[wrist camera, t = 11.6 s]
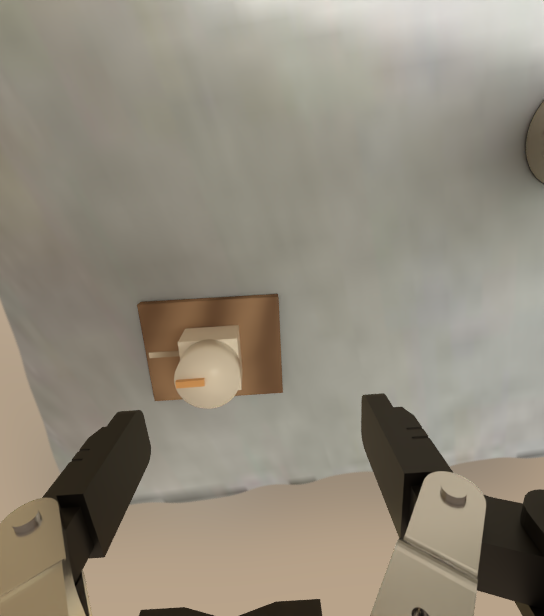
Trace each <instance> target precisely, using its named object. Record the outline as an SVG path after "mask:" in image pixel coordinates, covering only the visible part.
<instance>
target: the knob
mask: <svg viewBox="0 0 544 616" xmlns="http://www.w3.org/2000/svg"><path fill="white" fill-rule="evenodd" d="M178 348H179V355H180V362H179V364H178V366H177V368H176V371H175V375H174V383H175V387H176V390H177V392H178V394H179V395H180V396H181V397H182V398H183V399H184V400H185V401H186V402H187V403H189V404H191V405H193V406H196V407H199V408H206V409H207V408H216V407H220V406H222V405H224V404H226V403H227V402H229V401H230V400H231V399H232V398H233V397H234V396H235V394H236V393H237V391H238V390H242V361H241V349H240V337H239V325H233V326H218V327H203V328H188V329H185V330H184V332H183V334H182V335H181V337H180V339H179V341H178Z"/></svg>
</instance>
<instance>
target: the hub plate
mask: <svg viewBox="0 0 544 616" xmlns="http://www.w3.org/2000/svg"><path fill="white" fill-rule="evenodd" d="M137 307H138V312H139V318H140V323H141V328H142V334H143V339H144V345H145V350H146V355H147V361H148V366H149V372H150V377H151V383H152V388H153V393H154V399H155V401H163V400H178V399H183V398H182V397H181V396H180V395H179V394H178V392H177V390H176V387H175V383H174V375H175V371H176V368H177V366H178V364H179V362H180V355H179V348H178V341H179V339H180V337H181V335H182V334H183V332H184V330H185V329H188V328H203V327H218V326H233V325H239V337H240V349H241V361H242V390H238V391H237V393H236V394H235V396H238V395H253V394H268V393H283V389H282V366H281V344H280V321H279V299H278V294H269V295H252V296H235V297H218V298H201V299H183V300H166V301H149V302H140V303H139V304H138V305H137Z"/></svg>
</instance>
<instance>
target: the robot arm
mask: <svg viewBox="0 0 544 616" xmlns="http://www.w3.org/2000/svg"><path fill="white" fill-rule="evenodd" d="M526 155H527V161H528V164H529V166H530V169H531V171H532V172H533V174H534V175H535V177H536V178H538V179H539V180H540V181H541V182H542V183H544V102H543V103H542V104H541V106H540V107H539V109H538V110H537V112H536V113H535V115H534V117H533V120H532V122H531V124H530V127H529V131H528V134H527V140H526ZM361 433H362V441H363V445H364V449H365V452H366V454H367V457H368V459H369V462H370V464H371V467H372V469H373V472H374V475H375V477H376V480H377V482H378V485H379V487H380V490H381V492H382V495H383V498H384V500H385V503H386V505H387V508H388V510H389V513H390V515H391V518H392V520H393V523H394V525H395V528H396V531H397V533H398V536H399V540H398V541H397V543H396V546H395V548H394V551H393V554H392V557H391V560H390V562H389V565H388V568H387V571H386V573H385V576H384V579H383V582H382V584H381V587H380V590H379V593H378V595H377V598H376V601H375V604H374V606H373V609H372V612H371V615H370V616H474V609H475V601H476V593H477V590H478V591H481V592H485V593H488V594H492V595H495V596H499V597H502V598H505V599H509V600H512V601H515V603H516V605H517V607H518V608H519V610H520V612H521V614H522V615H523V616H544V490H533V491H530V492H528V493H527V494H526V495H525V498H524V502H523V504H522V503H517V502H512V501H507V500H502V499H497V498H493V497H488V496H486V495H483V494H482V492H481V491H480V490H479V489H478V487H477V486H476V485H474V484H473V483H472V482H470V481H469V480H468V479H466V478H464V477H462V476H460V475H458V474H455V473H453V471H452V470H451V469H450V467H449V466H448V464H447V463H446V461H445V460H444V458H443V457H442V455H441V454H440V453H439V451H438V450H437V448H436V447H435V445H434V444H433V442H432V441H431V440H430V438H428V435H427V434H426V432H425V431H424V429H422V426H421V425H420V424H419V422H418V421H417V419H416V418H415V416H414V415H412V414H411V413H410V412H408V411H407V410H405V409H404V408H403V407H393V406H392V405H391V403H390V401H389V400H388V398H387V396H386V395H385V394H384V393H383V394H369V395H363V396H362V417H361ZM150 455H151V445H150V441H149V436H148V432H147V428H146V424H145V419H144V415H143V413H142V411H140V410H135V411H121V412H118V413H116V415H115V416H114V417H113V419H112V420H111V421H110V423H109V424H108V425H107V427H102V428H101V429H99V430H98V431H97V432H96V433H94V434H93V435H92V436H90V437H89V438H88V439H87V441H86V442H85V443H84V445H83V446H82V447H81V448H80V451H79V452H77V454H76V455H75V456H74V457H73V459H72V462H70V463H69V464H68V465H67V466H66V468H65V469H64V470H63V472H62V473H61V474H60V475H59V477H58V478H57V479H56V481H55V482H54V483H53V484H52V486H51V487H50V488H49V490H48V491H47V492H46V493H45V495H44V496H43V497H42V498H40V499H36V500H33V501H31V502H28V503H26V504H24V505H22V506H20V507H19V508H17V509H16V510H14V511H13V512H12V513H10V514H9V515H8V516H7V517H6V518H5V519H4V520H3V521H2V522H1V523H0V616H92V612H91V607H90V602H89V596H88V591H87V586H86V581H85V575H84V573H83V570H82V569H83V568H84V566H85V563H86V562H87V560H88V558H101V557H105V555H106V553H107V551H108V549H109V546H110V544H111V542H112V540H113V538H114V536H115V534H116V532H117V529H118V527H119V525H120V523H121V521H122V519H123V517H124V514H125V512H126V510H127V508H128V506H129V504H130V502H131V500H132V497H133V495H134V493H135V491H136V489H137V487H138V485H139V483H140V480H141V478H142V476H143V474H144V472H145V470H146V468H147V465H148V463H149V460H150ZM139 616H214V615H210V614H206V613H203V612H199V611H196V610H192V609H189V608H185V607H183V608H167V609H150V610H141V612H140V615H139ZM240 616H322V611H321V603H320V599H313V600H297V601H281V602H274V603H272V604H269V605H266V606H263V607H261V608H258V609H255V610H253V611H250V612H248V613H245V614H242V615H240Z"/></svg>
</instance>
